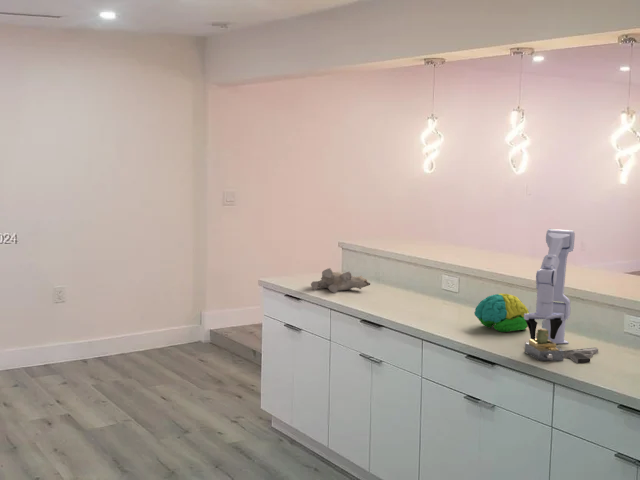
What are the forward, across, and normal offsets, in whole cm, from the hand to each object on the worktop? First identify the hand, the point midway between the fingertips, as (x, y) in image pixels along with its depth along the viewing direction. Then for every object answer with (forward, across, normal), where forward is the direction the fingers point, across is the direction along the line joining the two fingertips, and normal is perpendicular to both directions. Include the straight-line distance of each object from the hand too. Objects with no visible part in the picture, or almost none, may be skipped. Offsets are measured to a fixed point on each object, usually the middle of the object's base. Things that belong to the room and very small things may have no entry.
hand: (542, 338), depth 270 cm
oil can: (+2, 0, 0) cm, 3 cm away
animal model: (+6, -50, +126) cm, 136 cm away
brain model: (+6, +1, +40) cm, 41 cm away
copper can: (+6, +4, +9) cm, 12 cm away
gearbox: (+6, 0, -3) cm, 7 cm away
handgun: (+7, +15, -4) cm, 17 cm away
